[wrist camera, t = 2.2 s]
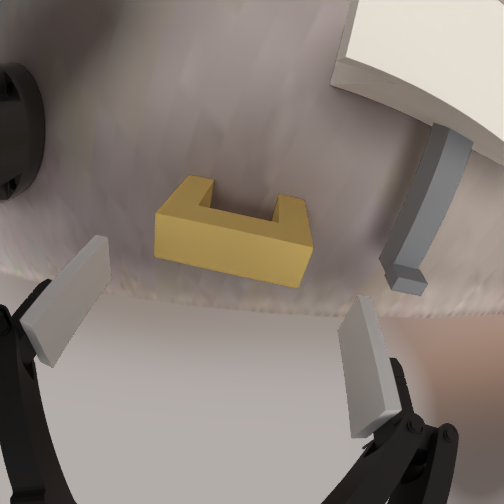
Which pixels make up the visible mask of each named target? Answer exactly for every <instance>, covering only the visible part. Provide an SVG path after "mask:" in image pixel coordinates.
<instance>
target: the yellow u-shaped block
mask: <svg viewBox="0 0 504 504" xmlns="http://www.w3.org/2000/svg"><path fill="white" fill-rule="evenodd" d="M213 185H214V179H209V178H204V177H199V176H193V175H189V176H188V177H187V178H186V179H185V180H184V181H183V182H182V183H181V184H180V186H179V187H178V188H177V189H176V190H175V191H174V192H173V193H172V195H171V196H170V197H169V198H168V199H167V200H166V201H165V203H164V204H163V205H162V206H161V207H160V208H159V210H158V211H157V212H156V213H155V239H154V257H158V258H162V259H166V260H170V261H175V262H179V263H183V264H187V265H192V266H196V267H201V268H205V269H209V270H214V271H218V272H223V273H227V274H232V275H236V276H241V277H245V278H250V279H255V280H259V281H264V282H269V283H274V284H278V285H283V286H288V287H293V288H298V287H299V285H300V282H301V280H302V277H303V275H304V272H305V270H306V267H307V265H308V262H309V259H310V257H311V254H312V251H313V249H314V246H313V241H312V236H311V231H310V226H309V221H308V216H307V211H306V206H305V202H304V200H303V199H299V198H295V197H291V196H287V195H282V194H279V195H278V199H277V202H276V206H275V210H274V214H273V217H272V221H267V220H263V219H258V218H254V217H249V216H245V215H240V214H236V213H231V212H227V211H222V210H217V209H212V208H210V204H211V197H212V191H213Z"/></svg>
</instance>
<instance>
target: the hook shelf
mask: <svg viewBox="0 0 504 504" xmlns="http://www.w3.org/2000/svg"><path fill="white" fill-rule="evenodd" d="M330 85H331V86H335V87H338V88H341V89H344V90H347V91H350V92H352V93H355V94H358V95H361V96H364V97H366V98H369V99H371V100H374V101H377V102H379V103H382V104H384V105H386V106H389V107H391V108H394V109H396V110H398V111H400V112H403V113H405V114H407V115H409V116H411V117H413V118H416V119H418V120H420V121H422V122H424V123H426V124H428V125H430V126H432V129H431V132H430V135H429V138H428V141H427V144H426V147H425V150H424V153H423V156H422V159H421V161H420V164H419V167H418V169H417V172H416V175H415V177H414V180H413V183H412V185H411V188H410V190H409V193H408V195H407V198H406V200H405V202H404V205H403V207H402V209H401V212H400V214H399V216H398V219H397V221H396V223H395V225H394V228H393V230H392V232H391V234H390V236H389V238H388V241H387V243H386V245H385V247H384V249H383V251H382V253H381V255H380V257H379V260H380V262H381V264H382V266H383V268H384V270H385V272H386V273H385V277H386V279H387V282H388V284H389V286H390V289H391V290H393V291H398V292H403V293H408V294H412V295H417V296H421V295H422V293H423V291H424V290H425V288H426V287H427V285H428V283H427V281H426V280H425V278H424V276H423V274H422V273H421V271H420V270H418V268H419V266H420V264H421V262H422V260H423V259H424V257H425V255H426V253H427V251H428V249H429V247H430V245H431V243H432V241H433V240H434V238H435V236H436V234H437V232H438V229H439V227H440V225H441V223H442V221H443V219H444V217H445V215H446V213H447V210H448V208H449V206H450V204H451V201H452V199H453V197H454V194H455V192H456V190H457V187H458V185H459V182H460V180H461V177H462V174H463V172H464V169H465V166H466V164H467V161H468V158H469V155H470V152H471V149H472V150H474V151H476V152H477V153H479V154H481V155H483V156H485V157H487V158H489V159H491V160H493V161H495V162H496V163H498V164H500V165H502V166H503V167H504V5H503V4H502V3H501V2H499V1H498V0H351V2H350V6H349V11H348V15H347V19H346V23H345V27H344V31H343V35H342V39H341V43H340V47H339V51H338V55H337V59H336V63H335V67H334V71H333V75H332V79H331V82H330Z"/></svg>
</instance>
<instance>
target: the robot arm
mask: <svg viewBox="0 0 504 504" xmlns="http://www.w3.org/2000/svg"><path fill="white" fill-rule="evenodd" d="M44 135H45V124H44V112H43V106H42V101H41V96H40V93H39V90H38V87H37V85H36V83H35V81H34V79H33V77H32V76H31V74H30V73H29V72H28V71H27V70H26V69H25V68H24V67H23V66H21V65H19V64H16V63H5V64H0V203H3V202H6V201H9V200H11V199H12V198H14V197H15V196H17V195H18V194H20V193H22V192H23V191H24V190H26V189H27V188H28V187H29V186H30V184H31V183H32V182H33V180H34V178H35V176H36V174H37V172H38V169H39V166H40V163H41V159H42V154H43V148H44ZM111 279H112V276H111V267H110V257H109V245H108V237H104V236H100V235H95V236H94V237H93V238H92V239H91V240H90V241H89V242H88V243H87V244H86V245H85V246H84V247H83V248H82V249H81V250H80V251H79V252H78V253H77V254H76V255H75V256H74V258H73V259H72V260H71V261H70V262H69V263H68V264H67V265H66V266H65V267H64V268H63V269H62V270H61V271H60V273H59V274H58V275H57V276H56V277H55V278H54V279H53V280H50V279H46V280H45V281H43V282H41V283H40V284H39V285H38V286H37V287H36V288H35V289H34V290H33V293H31V294H30V295H29V296H28V298H27V299H26V300H25V301H24V302H23V303H22V304H21V306H20V307H19V308H18V309H17V310H16V312H15V313H14V314H13V315H12V317H11V315H10V313H9V310H8V308H7V307H6V306H4V305H2V304H0V445H1V449H2V454H3V458H4V462H5V466H6V469H7V473H8V477H9V480H10V483H11V486H12V490H13V495H12V496H11V498H10V504H77V503H76V502H75V501H74V499H73V497H72V494H71V492H70V490H69V487H68V485H67V483H66V480H65V478H64V475H63V472H62V470H61V467H60V464H59V461H58V459H57V456H56V453H55V450H54V447H53V443H52V440H51V436H50V433H49V429H48V426H47V422H46V418H45V414H44V410H43V405H42V401H41V396H40V391H39V385H38V380H37V373H36V367H35V362H34V357H35V356H36V354H37V356H38V358H39V360H40V361H41V362H42V363H44V364H46V365H48V366H50V367H52V368H53V367H54V366H55V364H56V362H57V361H58V359H59V357H60V356H61V354H62V352H63V351H64V349H65V347H66V346H67V344H68V343H69V341H70V339H71V338H72V336H73V335H74V333H75V332H76V330H77V328H78V327H79V325H80V324H81V322H82V321H83V319H84V318H85V316H86V315H87V313H88V312H89V310H90V309H91V307H92V306H93V304H94V303H95V302H96V300H97V299H98V297H99V296H100V295H101V293H102V292H103V290H104V289H105V287H106V286H107V285H108V283H109V282H110V281H111ZM338 336H339V342H340V349H341V355H342V362H343V369H344V376H345V385H346V393H347V401H348V410H349V420H350V430H351V438H367V437H368V436H370V435H371V434H372V433H373V434H374V439H373V440H372V441H370V442H369V443H368V444H366V445H365V446H364V447H363V448H362V449H365V448H366V447H367V448H366V449H365V451H364V452H363V454H362V455H361V456H360V458H359V459H358V460H357V462H356V463H355V464H354V465H353V467H352V468H351V469H350V471H349V472H348V473H347V474H346V476H345V477H344V478H343V479H342V480H341V482H340V483H339V484H338V485H337V486H336V487H335V489H334V490H333V491H332V492H331V493H330V494H329V495H328V497H327V498H326V499H325V500H324V501H323V502H322V503H321V504H385V503H386V502H387V500H388V499H389V500H388V503H387V504H447V499H448V496H449V492H450V487H451V482H452V478H453V473H454V467H455V461H456V455H457V448H458V440H459V436H458V432H457V430H456V428H455V427H454V426H453V425H452V424H449V423H446V424H443V425H442V426H440V427H439V428H436V427H432V426H429V425H426V424H425V423H424V421H423V419H422V418H421V417H420V416H419V415H417V414H415V413H414V411H413V407H412V403H411V399H410V395H409V391H408V387H407V386H406V384H407V383H406V380H405V378H404V372H403V369H402V366H401V365H400V363H399V362H398V360H397V359H396V358H389V356H388V352H387V349H386V345H385V341H384V338H383V335H382V331H381V328H380V325H379V322H378V318H377V315H376V312H375V309H374V306H373V303H372V300H371V297H367V296H362V295H358V296H357V297H356V299H355V301H354V303H353V305H352V306H351V308H350V310H349V312H348V314H347V315H346V317H345V319H344V321H343V322H342V324H341V326H340V328H339V329H338ZM389 497H390V498H389Z"/></svg>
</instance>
